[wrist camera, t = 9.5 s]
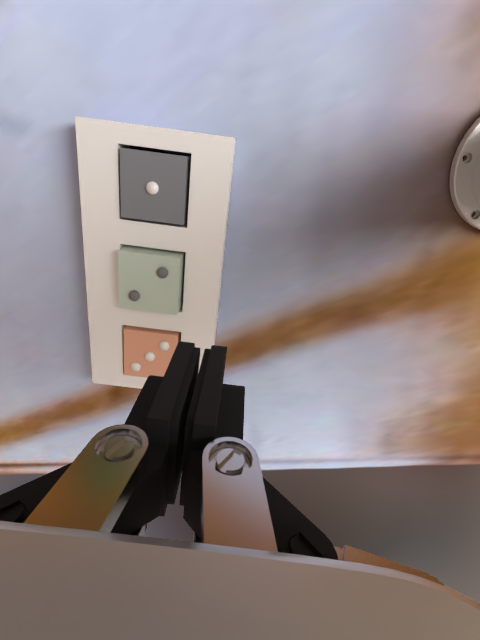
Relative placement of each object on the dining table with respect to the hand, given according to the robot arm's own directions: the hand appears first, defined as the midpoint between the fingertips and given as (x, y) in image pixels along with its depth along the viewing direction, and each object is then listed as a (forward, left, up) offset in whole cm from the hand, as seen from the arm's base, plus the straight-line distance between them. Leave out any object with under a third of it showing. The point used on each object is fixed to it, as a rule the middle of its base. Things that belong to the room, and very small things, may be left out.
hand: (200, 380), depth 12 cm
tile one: (+8, -4, -26) cm, 28 cm away
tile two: (+8, +5, -25) cm, 27 cm away
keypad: (+8, +5, -27) cm, 29 cm away
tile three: (+8, +14, -26) cm, 31 cm away
